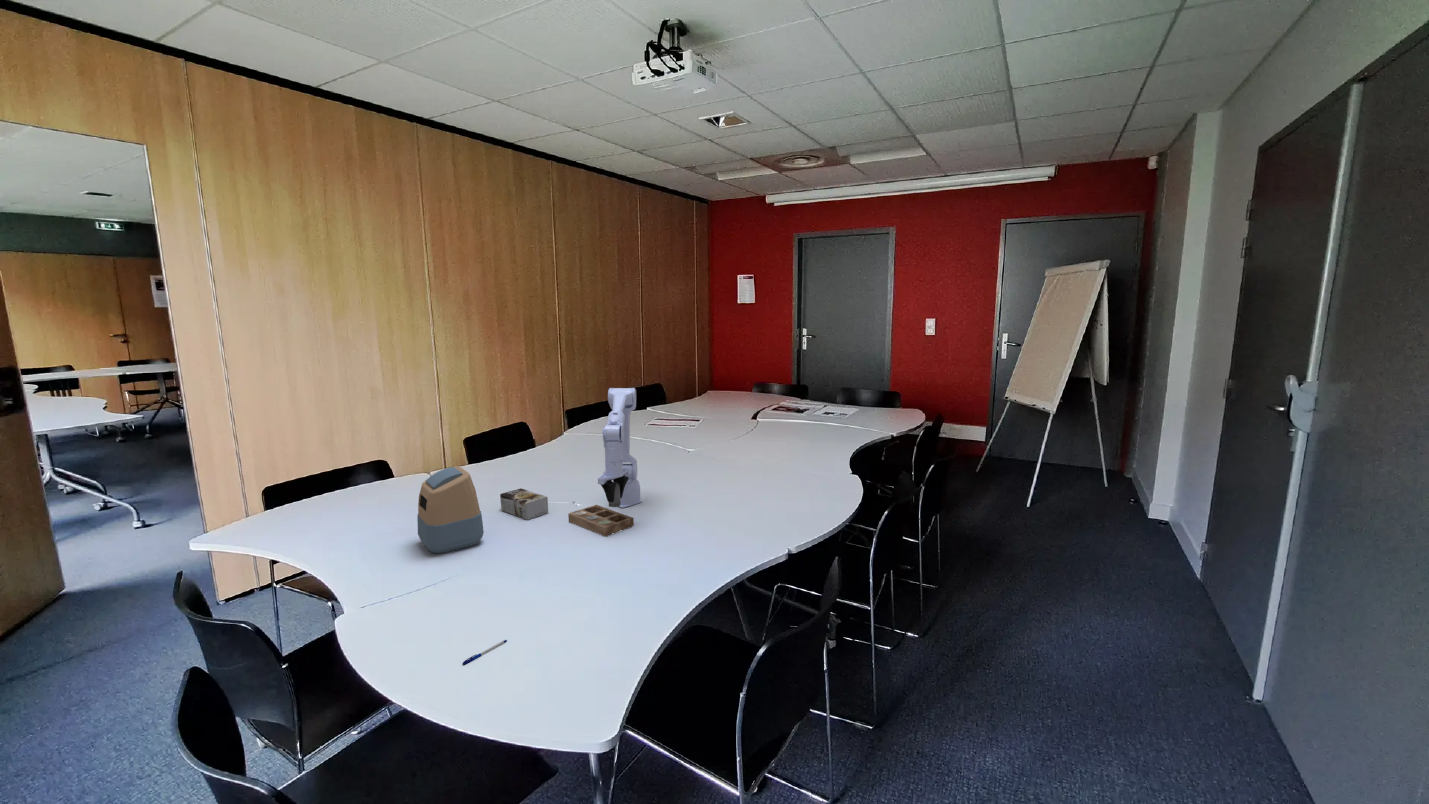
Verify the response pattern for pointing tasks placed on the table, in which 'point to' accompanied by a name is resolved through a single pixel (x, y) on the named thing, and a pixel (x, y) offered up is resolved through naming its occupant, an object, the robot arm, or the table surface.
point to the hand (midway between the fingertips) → (614, 499)
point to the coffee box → (524, 503)
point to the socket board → (601, 520)
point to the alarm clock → (449, 511)
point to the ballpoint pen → (482, 653)
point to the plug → (616, 497)
